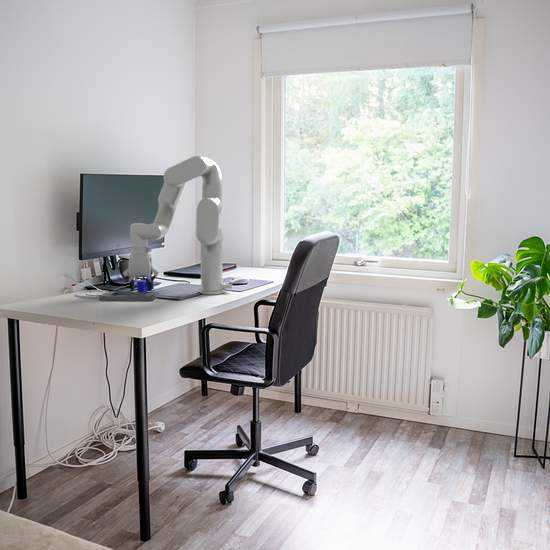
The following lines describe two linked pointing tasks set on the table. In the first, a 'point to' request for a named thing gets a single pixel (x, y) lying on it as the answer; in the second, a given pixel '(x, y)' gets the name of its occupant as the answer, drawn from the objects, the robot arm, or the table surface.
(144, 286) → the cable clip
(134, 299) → the dark grey flat slab
